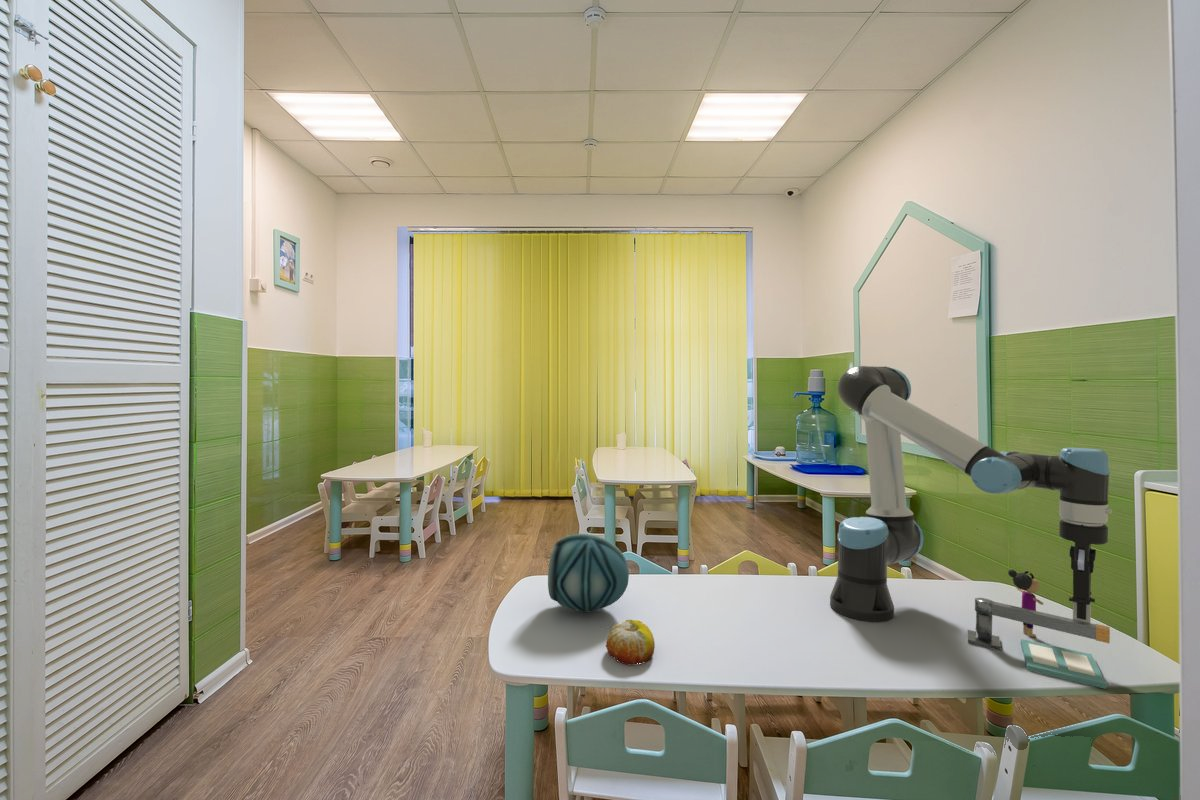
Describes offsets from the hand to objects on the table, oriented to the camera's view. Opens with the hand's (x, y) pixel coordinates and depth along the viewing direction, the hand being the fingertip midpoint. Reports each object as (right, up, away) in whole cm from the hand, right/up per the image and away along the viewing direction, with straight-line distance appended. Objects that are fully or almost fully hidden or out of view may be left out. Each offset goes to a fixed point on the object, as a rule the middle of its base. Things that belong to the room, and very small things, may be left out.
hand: (1081, 632), depth 111 cm
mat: (-4, -7, 0) cm, 8 cm away
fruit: (-96, -7, +3) cm, 96 cm away
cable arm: (-6, 0, +4) cm, 7 cm away
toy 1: (-105, -6, +25) cm, 108 cm away
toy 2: (-1, -7, +14) cm, 15 cm away
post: (-13, -7, +10) cm, 18 cm away
